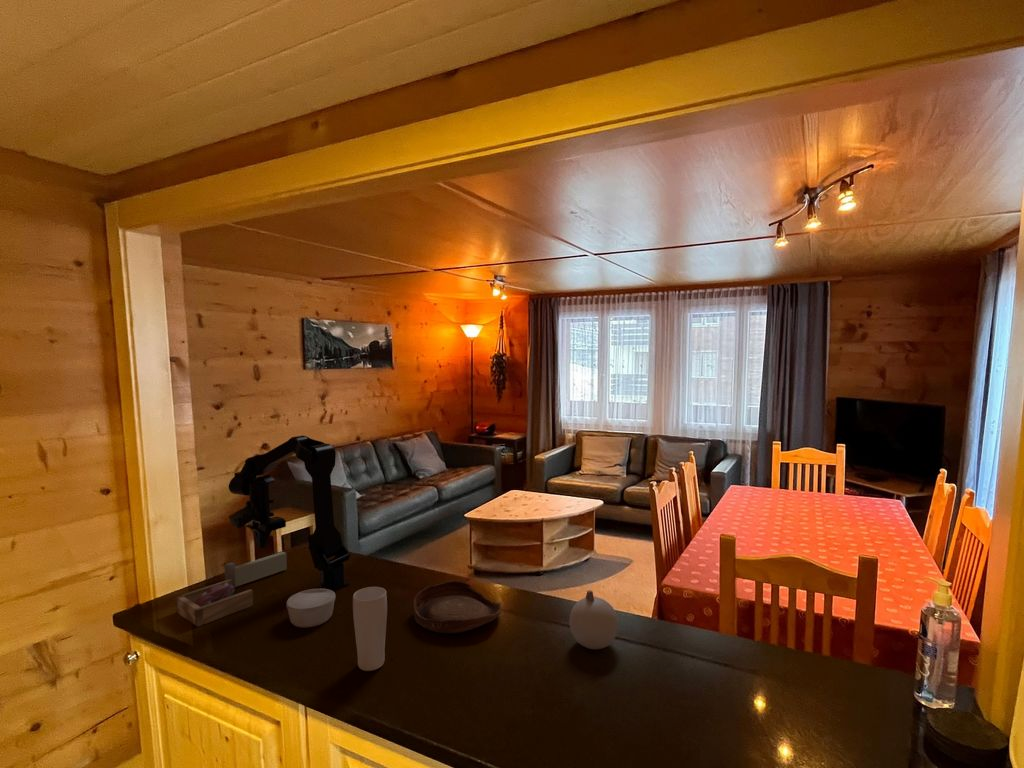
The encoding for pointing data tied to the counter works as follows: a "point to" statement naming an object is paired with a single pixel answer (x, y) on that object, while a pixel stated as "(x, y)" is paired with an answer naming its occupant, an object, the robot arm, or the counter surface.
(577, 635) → the ornament
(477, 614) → the dark brown shallow dish
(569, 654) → the counter surface
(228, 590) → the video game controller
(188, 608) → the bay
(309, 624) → the ramekin
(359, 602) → the drinking glass
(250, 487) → the robot arm
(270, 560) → the gate
